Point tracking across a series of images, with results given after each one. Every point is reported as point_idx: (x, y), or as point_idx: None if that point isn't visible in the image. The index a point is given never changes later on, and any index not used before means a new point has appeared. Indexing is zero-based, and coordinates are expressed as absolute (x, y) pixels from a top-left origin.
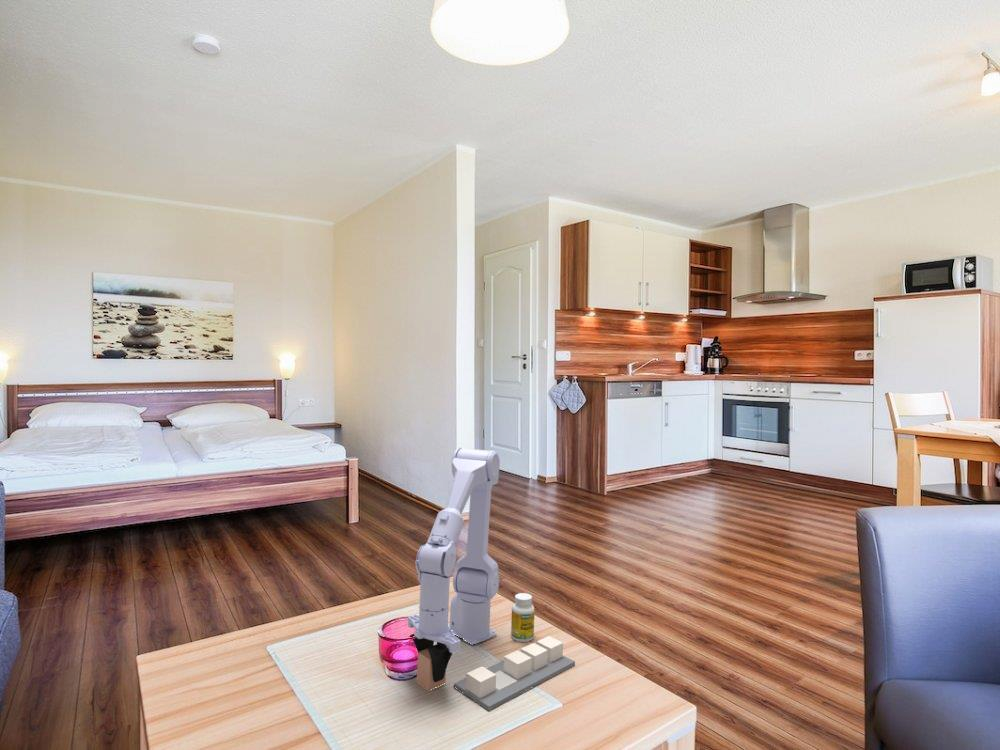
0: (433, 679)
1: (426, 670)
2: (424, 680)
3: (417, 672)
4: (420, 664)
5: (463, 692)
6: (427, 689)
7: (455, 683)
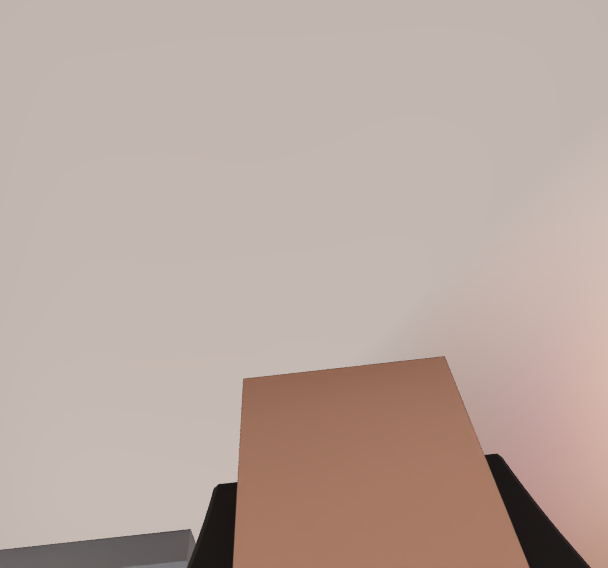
0: None
1: (302, 539)
2: (327, 425)
3: (470, 435)
4: (449, 546)
5: (68, 552)
6: (266, 382)
7: (176, 565)
